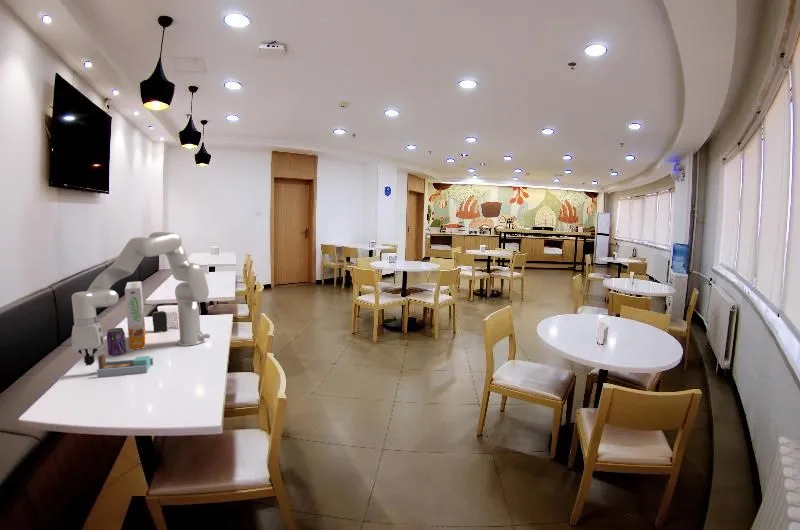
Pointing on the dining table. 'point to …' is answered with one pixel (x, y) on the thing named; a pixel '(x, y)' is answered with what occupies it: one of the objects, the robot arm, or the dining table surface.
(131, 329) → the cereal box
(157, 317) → the battery
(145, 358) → the block
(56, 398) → the dining table surface
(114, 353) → the beverage can
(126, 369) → the grey shallow tray
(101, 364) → the plunger rod
